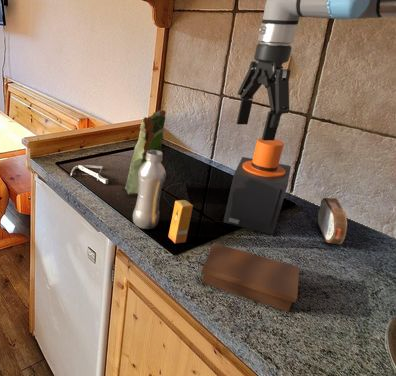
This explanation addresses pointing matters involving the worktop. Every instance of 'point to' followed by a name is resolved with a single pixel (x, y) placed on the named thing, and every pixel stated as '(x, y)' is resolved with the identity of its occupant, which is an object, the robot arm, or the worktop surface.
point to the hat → (266, 159)
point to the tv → (256, 199)
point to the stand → (252, 276)
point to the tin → (332, 221)
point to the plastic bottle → (149, 191)
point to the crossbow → (91, 172)
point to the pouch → (145, 147)
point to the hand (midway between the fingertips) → (254, 131)
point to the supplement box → (180, 221)
